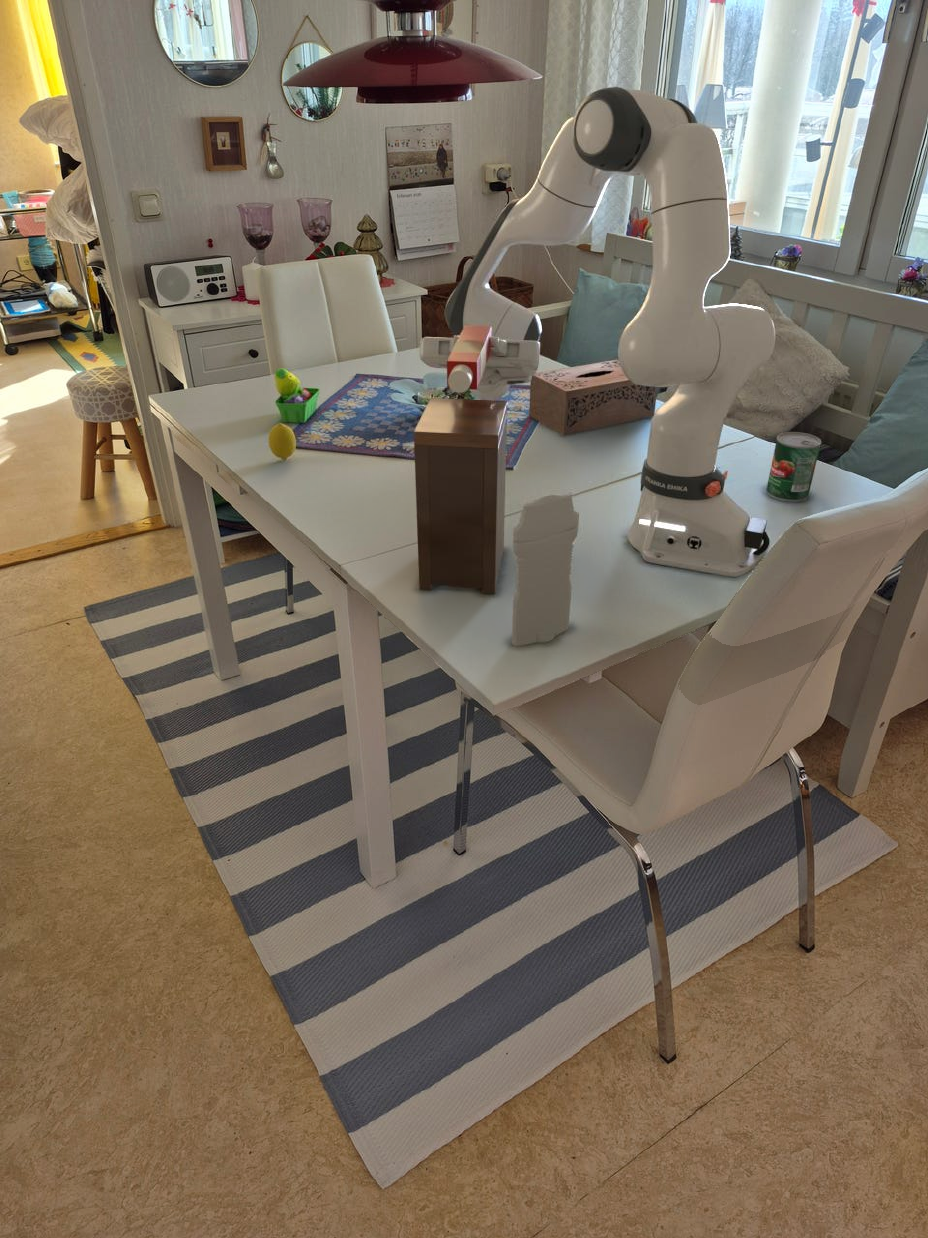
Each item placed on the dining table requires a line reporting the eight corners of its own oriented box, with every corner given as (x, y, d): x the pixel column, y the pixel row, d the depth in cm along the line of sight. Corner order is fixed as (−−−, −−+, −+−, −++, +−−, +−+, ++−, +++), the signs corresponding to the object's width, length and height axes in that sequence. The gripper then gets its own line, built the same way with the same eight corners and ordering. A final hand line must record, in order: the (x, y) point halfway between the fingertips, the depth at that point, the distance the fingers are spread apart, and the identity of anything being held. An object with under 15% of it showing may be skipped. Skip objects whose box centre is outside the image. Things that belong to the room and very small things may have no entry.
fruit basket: (308, 425, 198) (303, 376, 192) (271, 423, 199) (265, 374, 193) (322, 409, 207) (318, 362, 201) (287, 407, 209) (282, 360, 202)
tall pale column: (562, 618, 128) (571, 481, 116) (578, 631, 125) (590, 492, 113) (502, 638, 123) (505, 498, 112) (517, 652, 120) (523, 509, 109)
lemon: (292, 465, 178) (287, 428, 173) (267, 463, 179) (262, 426, 174) (301, 455, 182) (297, 419, 178) (277, 454, 183) (272, 417, 179)
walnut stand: (434, 545, 148) (430, 397, 134) (503, 549, 146) (507, 400, 132) (419, 589, 135) (413, 431, 121) (494, 594, 134) (498, 435, 120)
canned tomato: (757, 492, 166) (768, 438, 160) (780, 481, 170) (791, 428, 164) (794, 505, 161) (806, 450, 155) (816, 494, 165) (829, 440, 159)
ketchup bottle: (474, 396, 122) (475, 368, 120) (443, 395, 122) (443, 367, 120) (491, 351, 141) (491, 326, 139) (464, 350, 142) (464, 325, 139)
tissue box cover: (616, 399, 213) (620, 358, 208) (654, 416, 203) (659, 374, 197) (529, 415, 203) (530, 373, 198) (563, 435, 192) (566, 391, 187)
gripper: (426, 342, 152) (413, 319, 138) (541, 346, 150) (540, 322, 136) (424, 378, 152) (410, 358, 139) (539, 383, 150) (537, 363, 136)
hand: (475, 341), depth 137 cm, fingers closed on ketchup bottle, 4 cm apart
